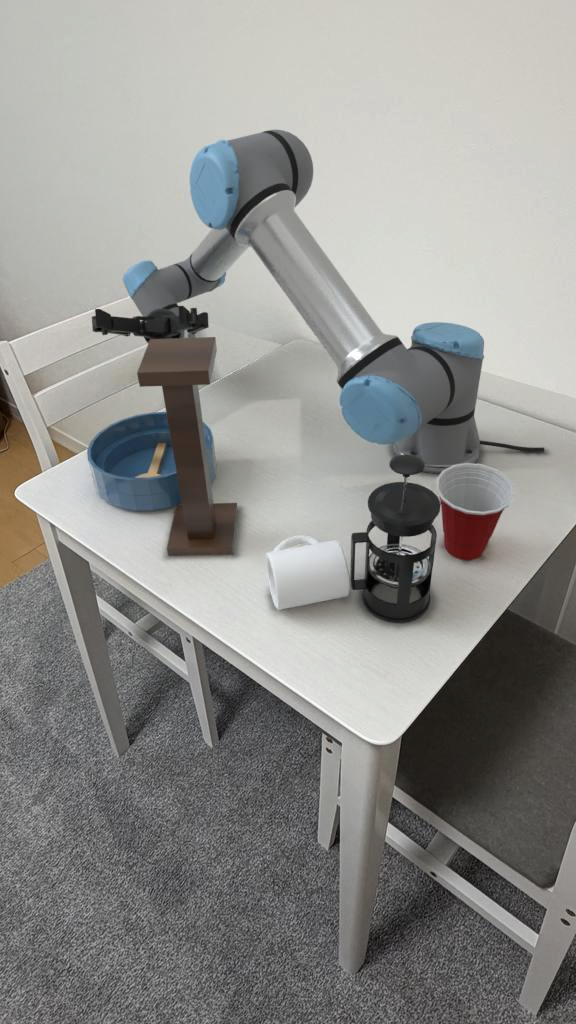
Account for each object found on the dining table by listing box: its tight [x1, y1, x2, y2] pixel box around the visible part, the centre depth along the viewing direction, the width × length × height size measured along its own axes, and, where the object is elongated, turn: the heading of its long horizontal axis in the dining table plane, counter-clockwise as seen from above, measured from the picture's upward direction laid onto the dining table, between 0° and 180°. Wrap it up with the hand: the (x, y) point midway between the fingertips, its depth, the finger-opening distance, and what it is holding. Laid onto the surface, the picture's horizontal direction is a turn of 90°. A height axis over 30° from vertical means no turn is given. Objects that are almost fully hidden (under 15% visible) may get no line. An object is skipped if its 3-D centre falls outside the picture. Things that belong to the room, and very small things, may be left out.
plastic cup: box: [435, 463, 516, 561], centre depth 99 cm, size 11×11×12 cm
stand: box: [136, 336, 239, 557], centre depth 99 cm, size 11×10×30 cm
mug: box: [265, 534, 351, 611], centre depth 96 cm, size 12×10×8 cm
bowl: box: [86, 411, 218, 512], centre depth 119 cm, size 21×21×7 cm
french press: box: [349, 455, 441, 624], centre depth 88 cm, size 12×9×23 cm
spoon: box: [135, 443, 167, 478], centre depth 120 cm, size 16×6×2 cm, turn 178°
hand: (139, 315), depth 111 cm, fingers open, 13 cm apart
